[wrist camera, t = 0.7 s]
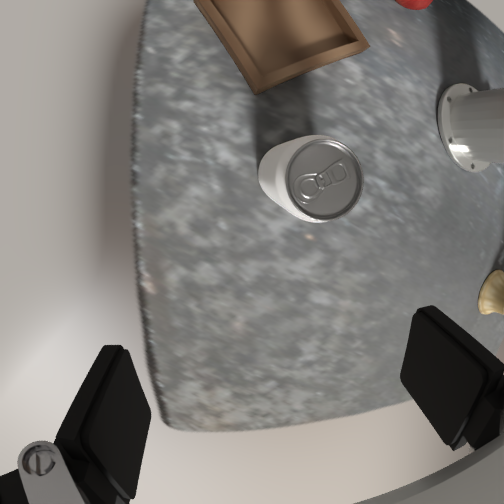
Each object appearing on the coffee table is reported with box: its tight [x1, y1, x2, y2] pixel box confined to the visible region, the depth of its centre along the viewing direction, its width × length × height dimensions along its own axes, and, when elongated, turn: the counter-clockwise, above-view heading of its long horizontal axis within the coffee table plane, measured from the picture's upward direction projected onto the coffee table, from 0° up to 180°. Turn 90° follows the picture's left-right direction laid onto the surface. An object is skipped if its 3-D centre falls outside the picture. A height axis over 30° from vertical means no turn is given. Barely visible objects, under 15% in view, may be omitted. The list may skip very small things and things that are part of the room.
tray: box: [193, 0, 370, 95], centre depth 24 cm, size 14×14×2 cm
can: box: [258, 135, 364, 223], centre depth 25 cm, size 6×6×12 cm
